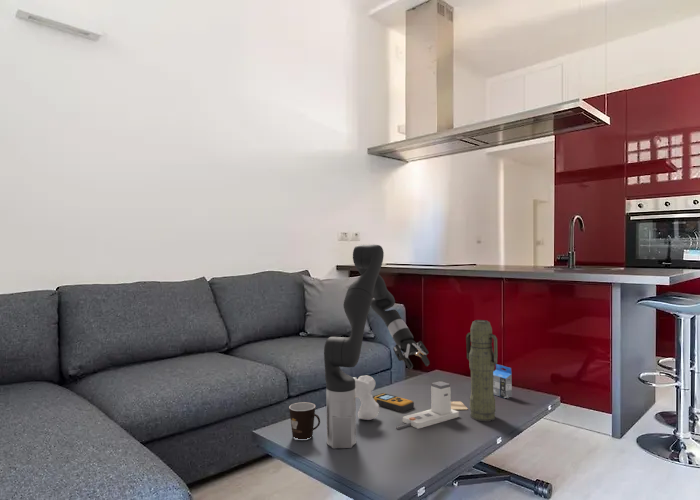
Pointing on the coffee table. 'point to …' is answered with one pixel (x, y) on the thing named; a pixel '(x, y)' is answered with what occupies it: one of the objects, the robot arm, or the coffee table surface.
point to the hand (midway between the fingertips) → (419, 366)
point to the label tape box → (502, 381)
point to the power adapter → (440, 398)
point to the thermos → (481, 369)
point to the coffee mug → (303, 419)
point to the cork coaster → (458, 405)
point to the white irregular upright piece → (366, 397)
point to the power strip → (426, 419)
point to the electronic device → (393, 402)
